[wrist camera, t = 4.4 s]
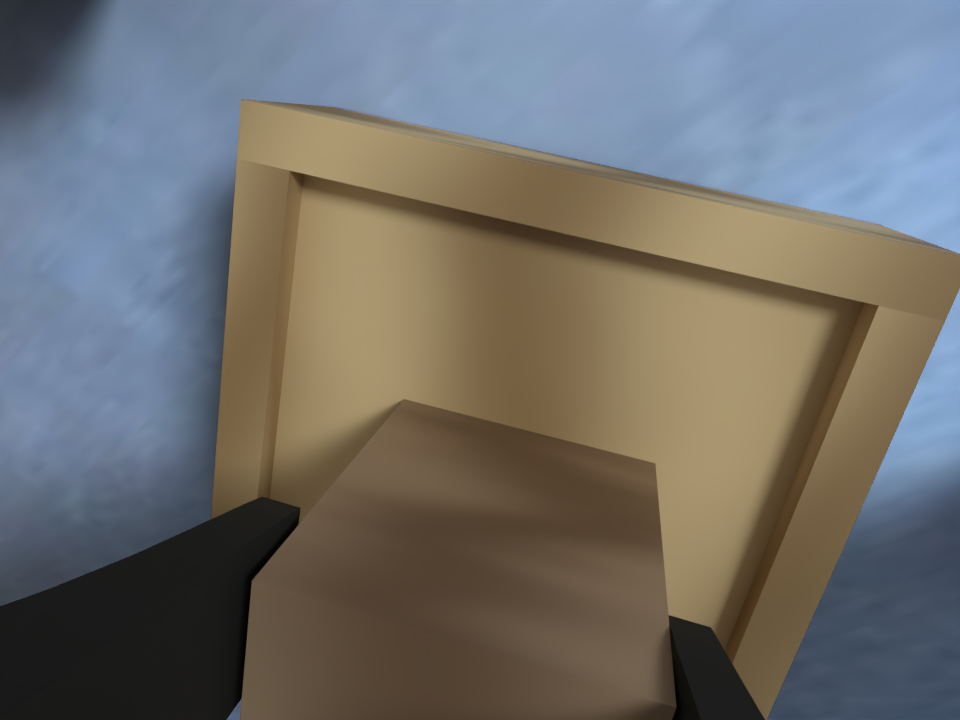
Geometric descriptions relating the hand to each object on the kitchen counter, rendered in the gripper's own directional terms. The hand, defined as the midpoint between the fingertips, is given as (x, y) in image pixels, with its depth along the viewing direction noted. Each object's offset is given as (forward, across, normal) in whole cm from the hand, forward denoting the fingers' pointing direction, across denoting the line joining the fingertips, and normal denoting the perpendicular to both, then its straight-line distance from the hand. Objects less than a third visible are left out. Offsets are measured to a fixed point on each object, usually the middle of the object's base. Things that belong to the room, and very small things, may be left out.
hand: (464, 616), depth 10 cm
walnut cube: (+4, 0, +1) cm, 5 cm away
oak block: (+8, 0, 0) cm, 8 cm away
